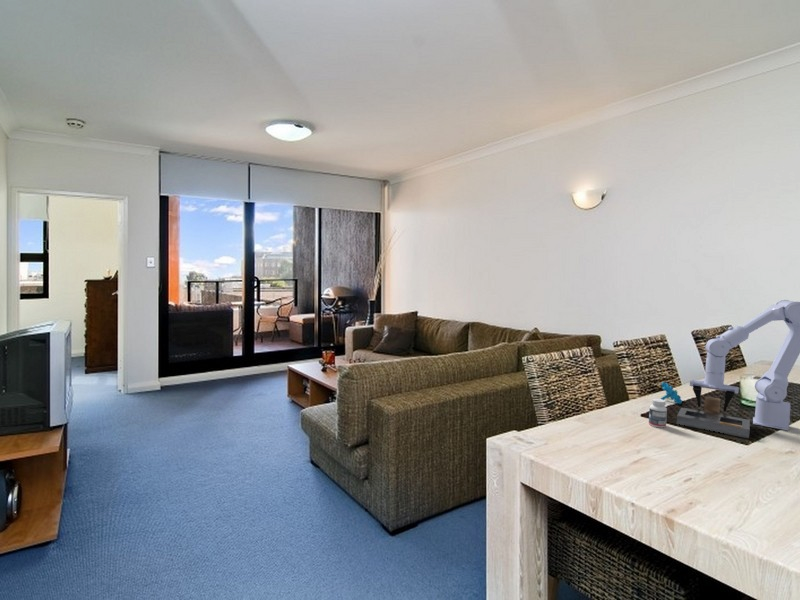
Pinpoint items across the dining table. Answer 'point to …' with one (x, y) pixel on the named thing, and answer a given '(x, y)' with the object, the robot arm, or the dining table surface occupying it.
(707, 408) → the walnut block
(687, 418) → the rail block
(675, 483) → the dining table surface
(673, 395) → the gear
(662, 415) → the pill bottle
